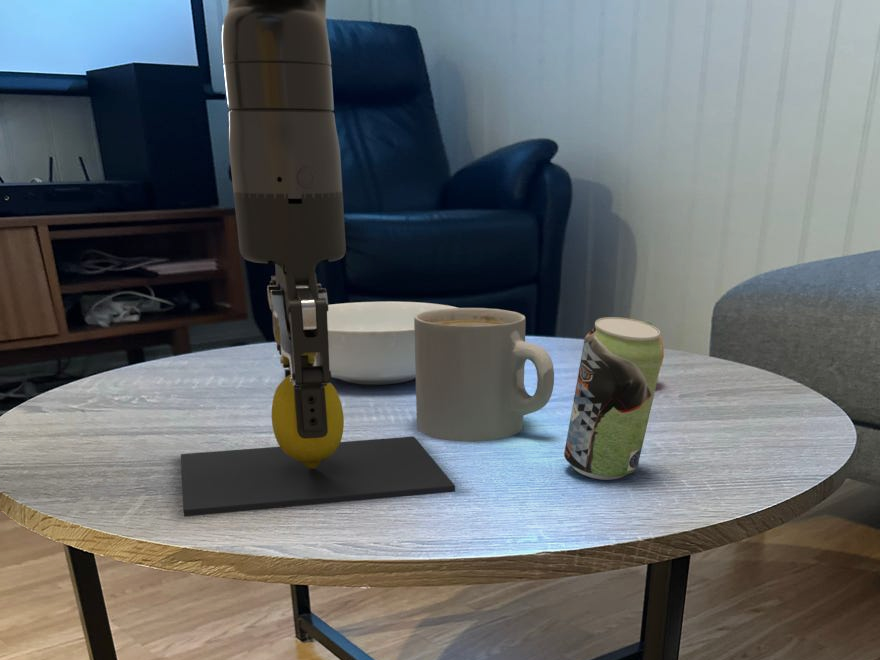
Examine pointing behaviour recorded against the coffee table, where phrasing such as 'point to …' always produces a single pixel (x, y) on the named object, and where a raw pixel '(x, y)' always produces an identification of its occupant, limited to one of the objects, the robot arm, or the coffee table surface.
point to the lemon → (286, 426)
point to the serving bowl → (374, 341)
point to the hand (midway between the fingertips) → (307, 425)
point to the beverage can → (613, 397)
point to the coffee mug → (476, 373)
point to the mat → (308, 476)
